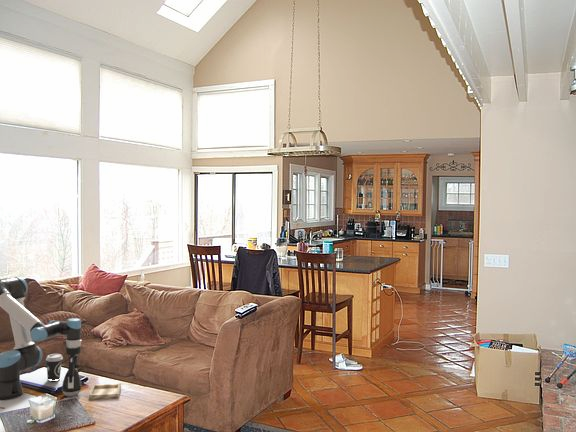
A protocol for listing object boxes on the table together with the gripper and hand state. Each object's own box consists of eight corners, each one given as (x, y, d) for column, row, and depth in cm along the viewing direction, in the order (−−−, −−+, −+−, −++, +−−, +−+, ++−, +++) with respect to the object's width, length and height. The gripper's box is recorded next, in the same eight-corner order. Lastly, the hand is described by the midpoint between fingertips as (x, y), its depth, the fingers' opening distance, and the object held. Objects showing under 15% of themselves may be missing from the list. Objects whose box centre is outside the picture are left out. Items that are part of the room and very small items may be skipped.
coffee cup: (56, 376, 320) (57, 352, 319) (65, 380, 314) (66, 355, 314) (41, 380, 312) (42, 355, 312) (50, 384, 306) (51, 359, 306)
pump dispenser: (83, 396, 291) (84, 369, 291) (63, 399, 285) (64, 372, 285) (79, 390, 300) (80, 364, 299) (60, 393, 294) (61, 367, 293)
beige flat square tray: (88, 399, 287) (88, 395, 287) (92, 388, 303) (92, 384, 302) (118, 398, 291) (119, 393, 291) (120, 387, 307) (121, 383, 306)
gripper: (77, 352, 280) (76, 391, 281) (83, 340, 304) (82, 375, 305) (62, 353, 278) (61, 392, 279) (70, 340, 303) (69, 376, 303)
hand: (72, 383), depth 292 cm, fingers open, 13 cm apart
